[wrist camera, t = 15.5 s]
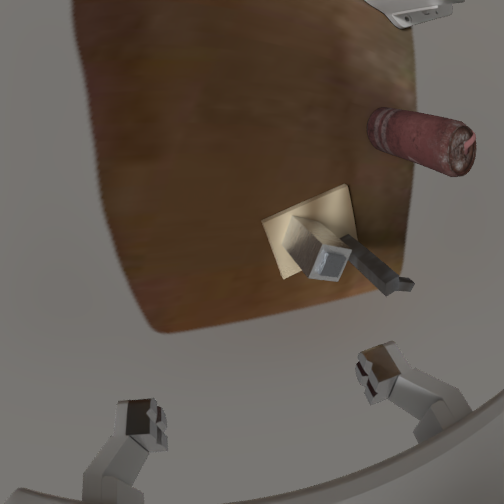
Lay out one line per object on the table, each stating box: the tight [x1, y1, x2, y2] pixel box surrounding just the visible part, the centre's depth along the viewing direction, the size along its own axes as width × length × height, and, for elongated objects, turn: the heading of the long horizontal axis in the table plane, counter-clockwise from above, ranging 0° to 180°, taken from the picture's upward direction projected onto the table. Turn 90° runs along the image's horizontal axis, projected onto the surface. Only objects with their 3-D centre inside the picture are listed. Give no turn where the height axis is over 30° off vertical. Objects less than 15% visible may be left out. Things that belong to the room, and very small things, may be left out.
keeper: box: [261, 184, 415, 296], centre depth 34 cm, size 13×11×12 cm
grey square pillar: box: [282, 215, 352, 282], centre depth 34 cm, size 4×4×9 cm
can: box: [367, 107, 476, 177], centre depth 29 cm, size 6×6×14 cm
